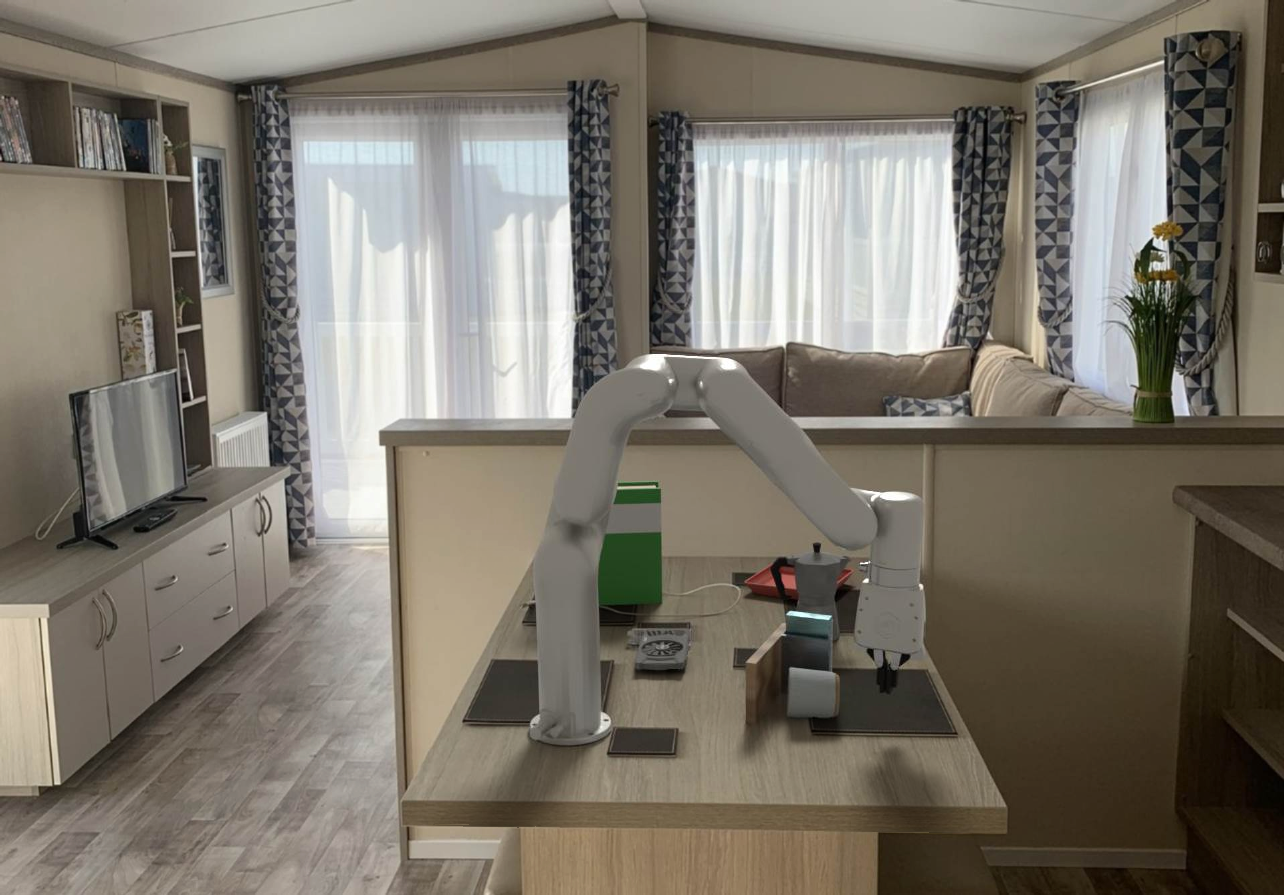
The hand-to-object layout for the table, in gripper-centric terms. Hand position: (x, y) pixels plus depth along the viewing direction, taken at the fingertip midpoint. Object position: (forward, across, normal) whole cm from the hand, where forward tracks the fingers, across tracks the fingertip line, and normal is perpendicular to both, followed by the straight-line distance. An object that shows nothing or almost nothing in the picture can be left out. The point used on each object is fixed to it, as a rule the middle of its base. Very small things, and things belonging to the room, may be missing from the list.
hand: (886, 690), depth 189 cm
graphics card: (+8, -44, +16) cm, 48 cm away
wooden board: (+7, -20, +4) cm, 21 cm away
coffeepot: (+7, -22, +37) cm, 44 cm away
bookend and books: (+7, -15, +11) cm, 20 cm away
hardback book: (+8, -65, +46) cm, 80 cm away
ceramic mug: (+7, -12, +2) cm, 14 cm away
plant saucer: (+7, -32, +66) cm, 73 cm away
